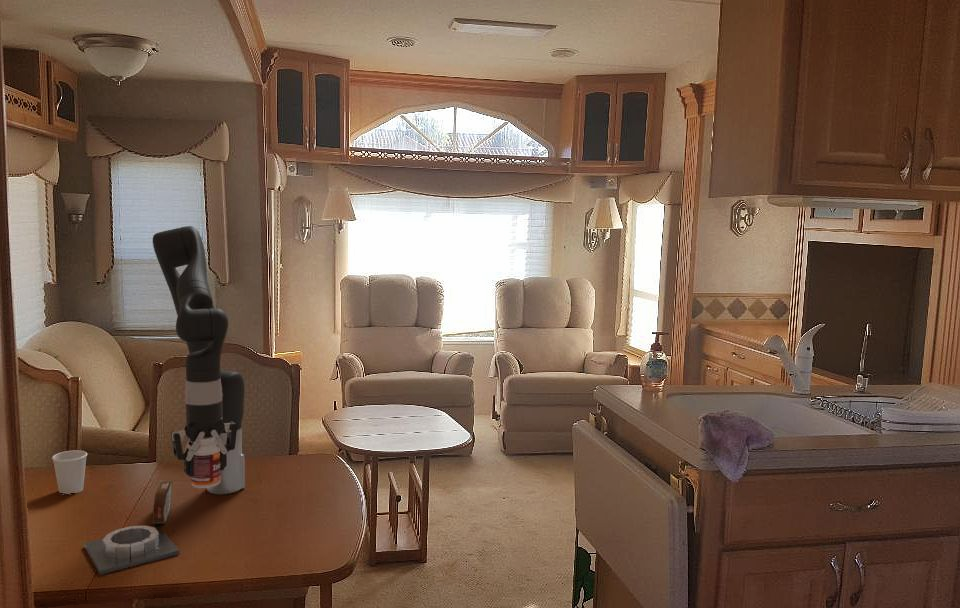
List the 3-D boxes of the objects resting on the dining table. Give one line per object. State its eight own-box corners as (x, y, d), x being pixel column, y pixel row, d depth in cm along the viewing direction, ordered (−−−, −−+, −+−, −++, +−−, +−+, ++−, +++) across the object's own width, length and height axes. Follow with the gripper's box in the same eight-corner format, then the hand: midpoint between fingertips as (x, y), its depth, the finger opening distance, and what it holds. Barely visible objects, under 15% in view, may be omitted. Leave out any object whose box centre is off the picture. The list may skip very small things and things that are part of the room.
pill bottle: (219, 488, 159) (218, 439, 157) (189, 490, 157) (187, 441, 156) (222, 478, 165) (221, 431, 163) (193, 479, 163) (192, 432, 162)
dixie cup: (90, 492, 196) (89, 456, 194) (54, 498, 191) (53, 462, 190) (86, 483, 202) (85, 448, 201) (52, 488, 198) (50, 453, 197)
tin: (161, 506, 188) (160, 475, 187) (174, 505, 189) (173, 474, 188) (151, 530, 174) (150, 496, 173) (166, 529, 175) (165, 495, 174)
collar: (158, 529, 174) (158, 515, 174) (179, 554, 162) (178, 539, 161) (84, 547, 164) (83, 532, 164) (100, 575, 152) (99, 559, 151)
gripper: (230, 391, 166) (231, 461, 168) (164, 400, 157) (166, 474, 159) (242, 398, 160) (243, 471, 162) (175, 407, 151) (177, 484, 153)
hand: (205, 472), depth 161 cm, fingers closed on pill bottle, 6 cm apart
